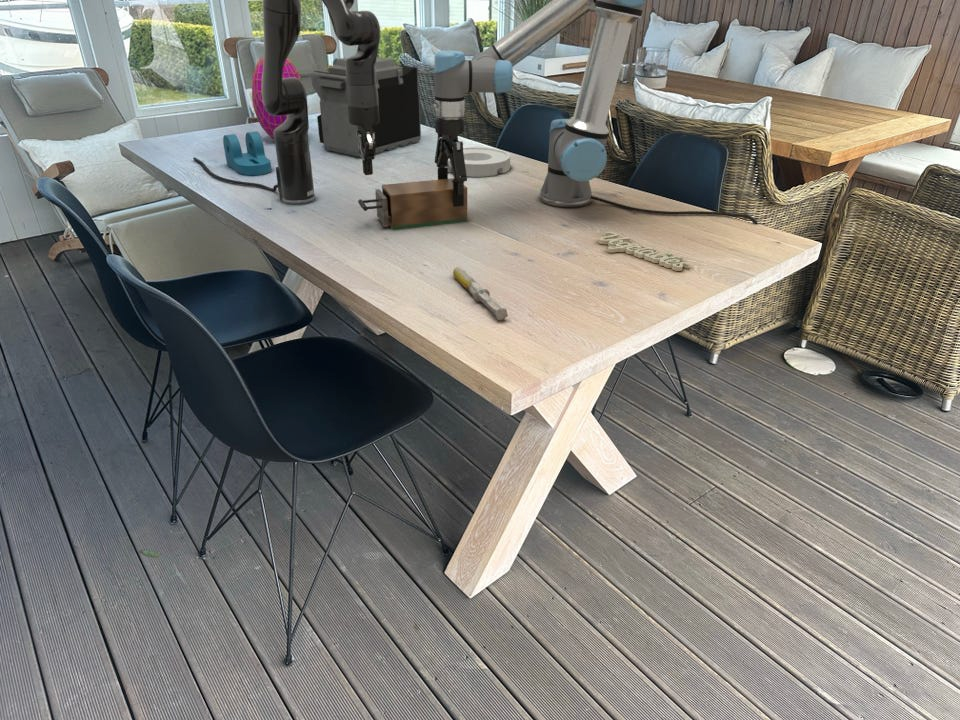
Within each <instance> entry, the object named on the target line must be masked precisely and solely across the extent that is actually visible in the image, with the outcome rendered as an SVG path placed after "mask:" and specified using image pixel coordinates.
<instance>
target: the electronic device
mask: <svg viewBox="0 0 960 720" xmlns="http://www.w3.org/2000/svg"><path fill="white" fill-rule="evenodd" d="M347 58H348V57H343V58H342V57H341V58H337V61H336V63H335V65H333V64H332V66H331V67H329V72H328V71H320V70H314V71H313V70H312V71H310V79H311V87H313V90H314V91H315V93H316V94H317V96H318V98H319V110H320V111H319V112H320V114H319V115H317V116H316V119H317V128H318V138H319V143H320V144H323V146H324V149H325V150H327V151H330V152H335V153H340V154H344V155H348V156H353V157H357V158H361V155H360V153H359V148H358V143H357V138H356V131H358V126H356V125H352V124H350V123H349V116H348V104H347V79H346V60H347ZM375 70H376V85H377V90H378V101H379V117H380V122H379V123H378V124H376V125H372V132H374V133H375V139H374V141H375V142H376V149H375V155H377V154H381V153H382V152H383V151H391V150H395V149H396V148H397V147H405V146H407V145H408V144H416V143H418V142H419V141H421V137H422V128H421V97H420V92H419V91H420V89H419V68H418V67H417V66H408V65H400V64H396V62H395V60H394V59H393V58H385V57H377V58H376V63H375Z"/></svg>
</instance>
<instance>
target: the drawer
mask: <svg viewBox="0 0 960 720" xmlns="http://www.w3.org/2000/svg"><path fill="white" fill-rule="evenodd" d="M374 192H375V193H374V194H375V198H374V199H361V198H359V199H357V203H358V204H359V206H360V207H361V209H362V210H363V211H364V212H367V211H368V210H375V209H376V217H377V218H378V220H379V221H380V222H381V224H382V225H383V227H390V225H389V221H388V217H389V219H390V220H391V204H390V197H389V195H388V194H387V193H386V192H385V195H384V194H383V193H382V189H380V188H378V189H375V190H374ZM385 196H386V197H385ZM368 203H370V204H371V203H375V205H369V206H367V205H366V204H368Z"/></svg>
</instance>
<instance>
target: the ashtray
mask: <svg viewBox="0 0 960 720" xmlns="http://www.w3.org/2000/svg"><path fill="white" fill-rule="evenodd" d="M463 153H464V160H465V168H466V175H467V177H472V178H473V177H474V178H478V177H479V178H481V177H483V178H485V177H494V176H497V175H498V174H505V173H507V172H509V171H510V169H511V154H510V153H509V152H507V151H505V150H503V149H502V150H501V149H499V148H498V149H497V148H492V147H482V146H481V147H480V146H467V147H463ZM447 163H448V166H449V167H445V168H448V173H453V172H452V167H451V163H450V159H448V162H447Z"/></svg>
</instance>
